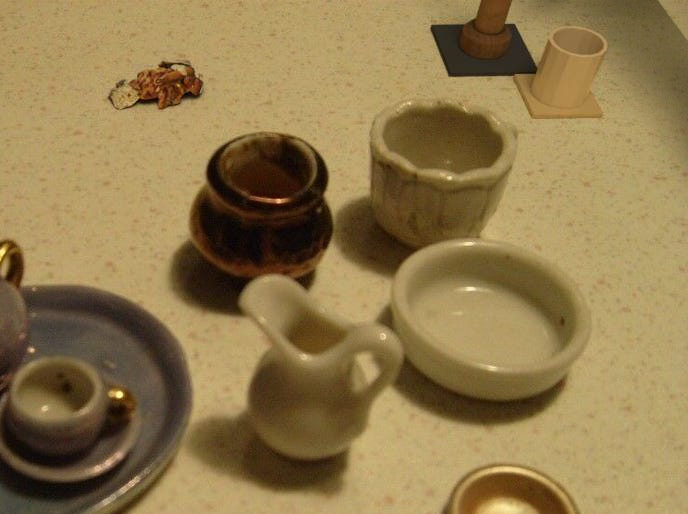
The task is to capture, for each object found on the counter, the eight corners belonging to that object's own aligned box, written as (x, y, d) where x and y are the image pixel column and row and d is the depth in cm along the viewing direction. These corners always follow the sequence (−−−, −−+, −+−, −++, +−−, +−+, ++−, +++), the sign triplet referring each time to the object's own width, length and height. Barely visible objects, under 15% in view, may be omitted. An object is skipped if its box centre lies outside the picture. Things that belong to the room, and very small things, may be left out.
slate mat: (513, 27, 122) (514, 23, 121) (537, 75, 114) (539, 71, 114) (430, 28, 121) (431, 24, 121) (449, 76, 114) (450, 72, 113)
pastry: (102, 91, 111) (100, 66, 108) (186, 68, 114) (186, 44, 111) (123, 120, 107) (121, 95, 104) (210, 97, 110) (210, 72, 107)
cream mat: (579, 76, 114) (581, 73, 114) (601, 117, 109) (603, 113, 108) (513, 77, 114) (514, 73, 113) (532, 118, 108) (533, 114, 108)
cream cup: (574, 81, 114) (596, 25, 107) (591, 112, 109) (615, 56, 103) (522, 82, 113) (542, 25, 107) (537, 113, 109) (558, 57, 103)
